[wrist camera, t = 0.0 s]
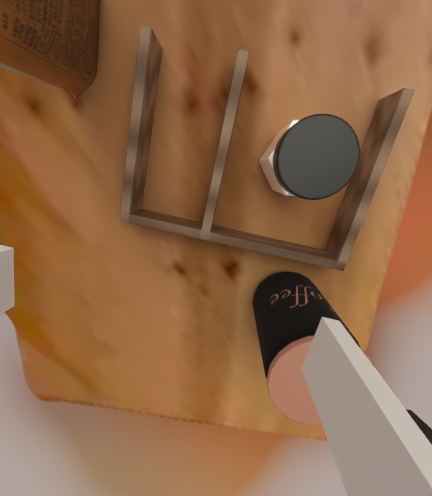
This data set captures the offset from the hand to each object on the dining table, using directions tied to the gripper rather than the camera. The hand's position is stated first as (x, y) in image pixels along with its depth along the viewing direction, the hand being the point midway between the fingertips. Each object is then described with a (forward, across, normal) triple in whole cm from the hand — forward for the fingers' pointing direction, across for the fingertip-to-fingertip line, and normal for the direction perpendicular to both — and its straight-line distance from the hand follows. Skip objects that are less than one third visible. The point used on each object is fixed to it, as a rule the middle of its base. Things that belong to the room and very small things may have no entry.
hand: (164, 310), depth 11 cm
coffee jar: (+29, +15, -12) cm, 35 cm away
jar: (+29, +10, +9) cm, 32 cm away
